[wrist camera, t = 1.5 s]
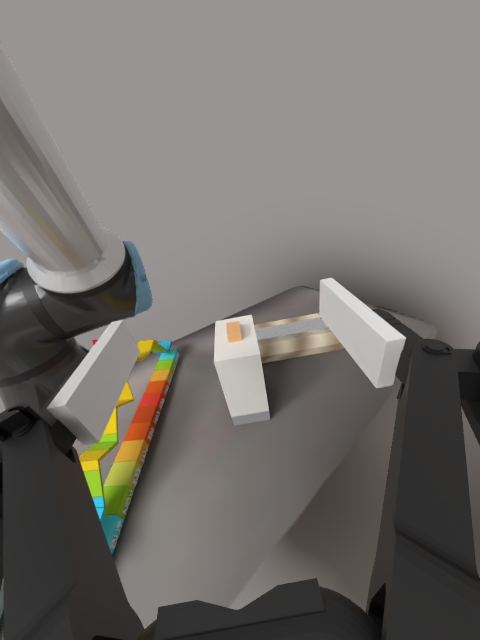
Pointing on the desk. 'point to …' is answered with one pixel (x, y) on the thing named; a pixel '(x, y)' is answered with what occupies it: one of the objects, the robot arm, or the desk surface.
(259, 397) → the breaker module
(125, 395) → the chart
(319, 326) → the steel rail
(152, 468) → the desk surface
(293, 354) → the rail board
